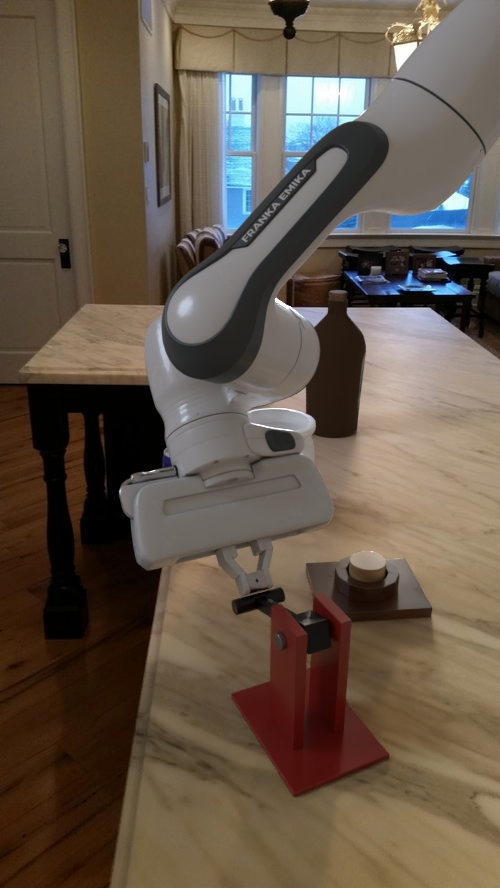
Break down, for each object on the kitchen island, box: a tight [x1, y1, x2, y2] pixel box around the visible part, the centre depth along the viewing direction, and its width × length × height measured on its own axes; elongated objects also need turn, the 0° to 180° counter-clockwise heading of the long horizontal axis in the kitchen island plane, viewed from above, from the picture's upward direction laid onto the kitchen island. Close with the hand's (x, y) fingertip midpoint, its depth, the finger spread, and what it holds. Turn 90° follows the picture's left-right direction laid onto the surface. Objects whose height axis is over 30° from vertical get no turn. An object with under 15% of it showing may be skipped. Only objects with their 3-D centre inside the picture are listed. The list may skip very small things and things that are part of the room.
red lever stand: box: [230, 592, 390, 798], centre depth 59 cm, size 12×9×13 cm
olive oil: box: [305, 289, 367, 438], centre depth 124 cm, size 11×11×25 cm
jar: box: [248, 407, 316, 464], centre depth 94 cm, size 11×10×15 cm
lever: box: [231, 586, 332, 656], centre depth 62 cm, size 12×5×2 cm, turn 25°
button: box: [349, 550, 386, 583], centre depth 78 cm, size 4×4×2 cm
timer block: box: [305, 555, 433, 623], centre depth 79 cm, size 12×10×4 cm
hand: (257, 592), depth 66 cm, fingers closed, pressing on lever
